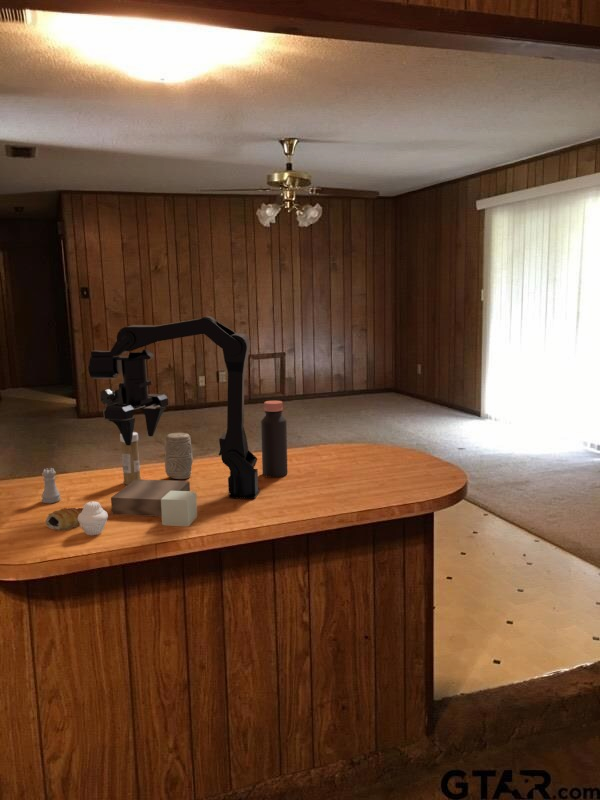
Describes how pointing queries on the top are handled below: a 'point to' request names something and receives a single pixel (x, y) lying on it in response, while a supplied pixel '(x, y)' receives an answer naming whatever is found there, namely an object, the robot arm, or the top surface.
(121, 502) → the walnut base
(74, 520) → the pastry
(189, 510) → the sage cube
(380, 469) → the top surface
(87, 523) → the muffin
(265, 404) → the vinegar
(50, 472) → the rook chess piece
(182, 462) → the carving
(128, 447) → the sprinkles bottle
